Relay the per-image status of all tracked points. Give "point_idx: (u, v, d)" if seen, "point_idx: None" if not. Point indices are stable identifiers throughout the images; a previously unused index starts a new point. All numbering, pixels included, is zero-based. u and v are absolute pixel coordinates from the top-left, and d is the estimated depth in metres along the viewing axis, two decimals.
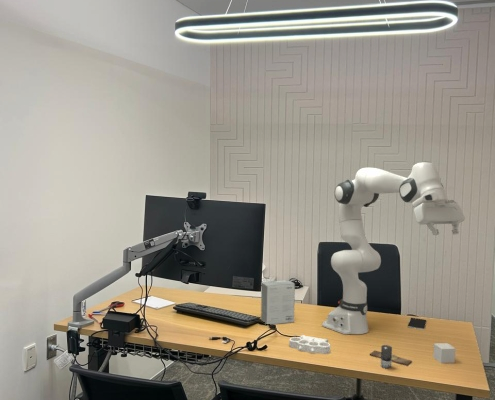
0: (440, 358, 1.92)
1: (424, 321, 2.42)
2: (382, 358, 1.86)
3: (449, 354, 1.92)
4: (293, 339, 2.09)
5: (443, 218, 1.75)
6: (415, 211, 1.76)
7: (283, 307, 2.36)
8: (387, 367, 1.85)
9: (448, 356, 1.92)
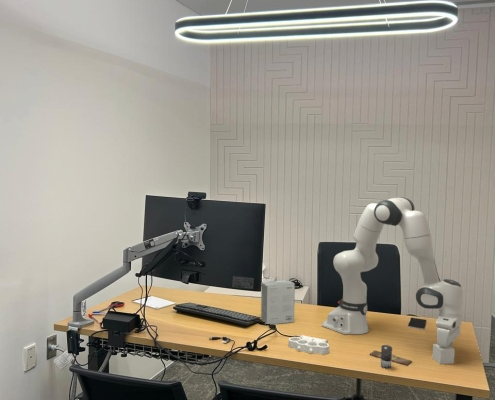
0: (439, 359, 1.91)
1: (424, 321, 2.43)
2: (382, 358, 1.86)
3: (449, 354, 1.91)
4: (292, 339, 2.09)
5: (452, 340, 1.97)
6: (439, 333, 1.92)
7: (283, 307, 2.36)
8: (387, 367, 1.85)
9: (448, 356, 1.91)
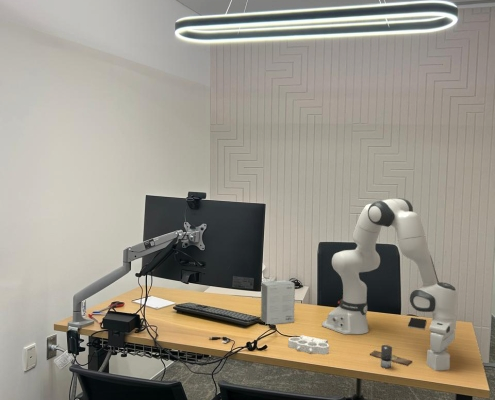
0: (435, 365, 1.84)
1: (424, 321, 2.43)
2: (382, 358, 1.86)
3: (444, 360, 1.85)
4: (292, 339, 2.09)
5: (447, 345, 1.91)
6: (432, 338, 1.86)
7: (283, 307, 2.36)
8: (387, 367, 1.85)
9: (443, 363, 1.85)
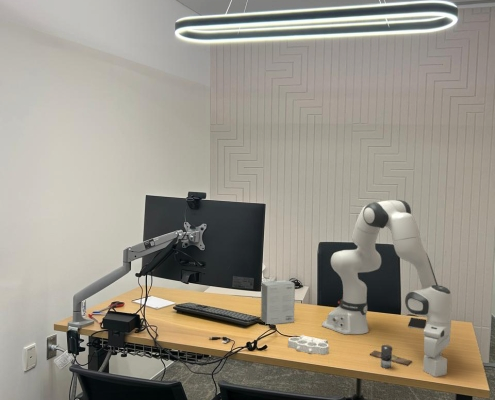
0: (434, 371, 1.79)
1: (424, 321, 2.43)
2: (382, 358, 1.86)
3: (442, 365, 1.80)
4: (292, 339, 2.09)
5: (441, 349, 1.86)
6: (426, 342, 1.81)
7: (283, 307, 2.36)
8: (387, 367, 1.85)
9: (441, 368, 1.80)
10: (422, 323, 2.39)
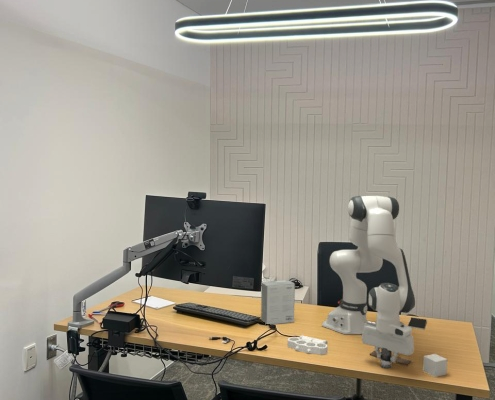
0: (434, 371, 1.79)
1: (424, 321, 2.43)
2: (382, 358, 1.86)
3: (442, 366, 1.80)
4: (292, 339, 2.09)
5: None
6: (410, 342, 1.79)
7: (283, 307, 2.36)
8: (387, 367, 1.85)
9: (441, 368, 1.80)
10: (422, 323, 2.39)
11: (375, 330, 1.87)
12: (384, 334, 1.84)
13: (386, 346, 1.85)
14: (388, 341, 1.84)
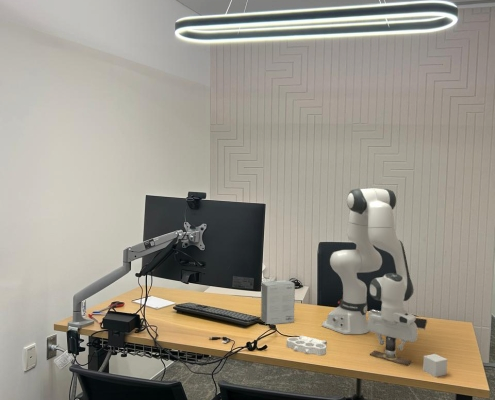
0: (434, 371, 1.79)
1: (424, 321, 2.43)
2: (386, 348, 1.94)
3: (442, 366, 1.80)
4: (291, 339, 2.09)
5: None
6: (413, 329, 1.87)
7: (283, 307, 2.36)
8: (391, 357, 1.93)
9: (441, 368, 1.80)
10: (422, 323, 2.40)
11: (380, 318, 1.95)
12: (389, 322, 1.92)
13: (391, 333, 1.93)
14: (392, 329, 1.92)
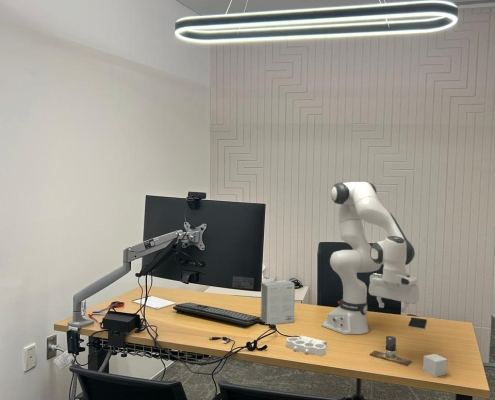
0: (434, 371, 1.79)
1: (424, 321, 2.43)
2: (387, 348, 1.94)
3: (442, 366, 1.80)
4: (291, 339, 2.09)
5: None
6: (415, 291, 1.86)
7: (283, 307, 2.36)
8: (391, 357, 1.93)
9: (441, 368, 1.80)
10: (422, 323, 2.40)
11: (382, 281, 1.94)
12: (390, 284, 1.91)
13: (393, 296, 1.92)
14: (394, 291, 1.91)
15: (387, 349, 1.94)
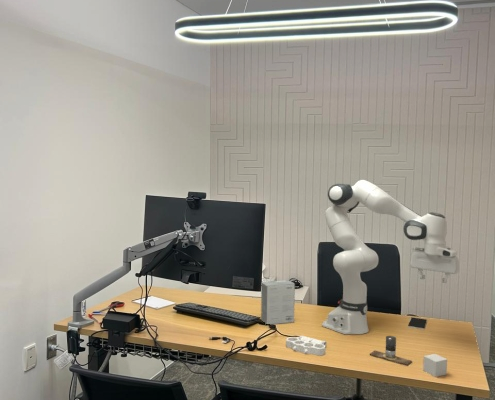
0: (434, 371, 1.79)
1: (424, 321, 2.43)
2: (387, 348, 1.94)
3: (442, 366, 1.80)
4: (291, 339, 2.09)
5: None
6: (456, 262, 2.02)
7: (283, 307, 2.36)
8: (391, 357, 1.93)
9: (441, 368, 1.80)
10: (422, 323, 2.40)
11: (423, 254, 2.10)
12: (432, 256, 2.06)
13: (434, 267, 2.07)
14: (435, 263, 2.07)
15: (387, 349, 1.94)
